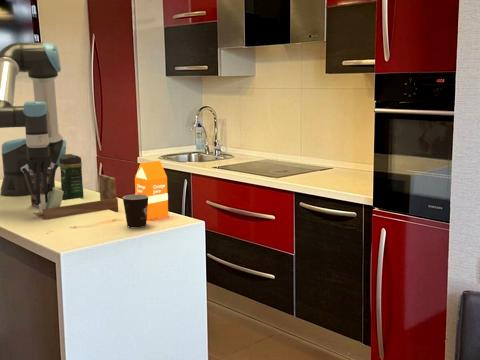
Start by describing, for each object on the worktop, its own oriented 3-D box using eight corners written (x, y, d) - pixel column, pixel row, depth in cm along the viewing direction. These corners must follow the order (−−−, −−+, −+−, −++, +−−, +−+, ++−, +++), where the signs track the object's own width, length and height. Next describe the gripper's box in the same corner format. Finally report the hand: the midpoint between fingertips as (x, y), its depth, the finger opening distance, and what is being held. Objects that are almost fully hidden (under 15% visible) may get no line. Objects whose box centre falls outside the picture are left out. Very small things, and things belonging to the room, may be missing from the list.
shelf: (32, 217, 216) (30, 183, 214) (104, 205, 233) (102, 174, 231) (45, 223, 207) (42, 188, 205) (118, 211, 224) (116, 178, 222)
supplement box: (31, 210, 228) (28, 169, 225) (40, 207, 232) (37, 167, 229) (47, 212, 224) (44, 170, 221) (57, 209, 228) (54, 168, 225)
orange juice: (136, 216, 216) (133, 162, 212) (155, 212, 222) (153, 159, 218) (148, 220, 210) (146, 164, 207) (168, 216, 216) (167, 161, 213)
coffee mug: (138, 221, 210) (136, 193, 208) (154, 224, 204) (153, 196, 203) (111, 227, 201) (110, 198, 199) (128, 232, 196) (127, 202, 194)
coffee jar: (86, 199, 246) (84, 154, 242) (67, 202, 241) (65, 156, 238) (77, 195, 253) (74, 152, 250) (59, 198, 249) (56, 154, 245)
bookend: (41, 210, 216) (47, 186, 216) (49, 211, 218) (55, 188, 218) (49, 214, 210) (55, 189, 210) (57, 216, 212) (63, 191, 212)
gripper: (22, 148, 201) (27, 216, 205) (60, 145, 209) (64, 211, 213) (15, 146, 207) (20, 212, 211) (52, 143, 215) (56, 207, 219)
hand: (42, 211), depth 212 cm, fingers closed
